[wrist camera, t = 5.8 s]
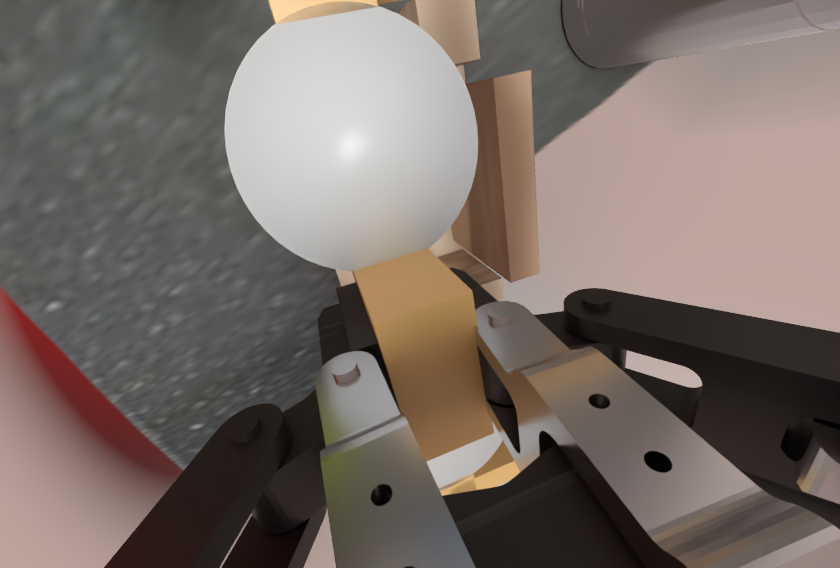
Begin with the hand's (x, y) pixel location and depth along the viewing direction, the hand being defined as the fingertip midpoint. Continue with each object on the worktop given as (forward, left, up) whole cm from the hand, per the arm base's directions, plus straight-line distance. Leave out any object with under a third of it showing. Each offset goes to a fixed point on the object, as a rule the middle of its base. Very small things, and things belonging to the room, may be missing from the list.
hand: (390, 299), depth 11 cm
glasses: (-3, 0, -2) cm, 3 cm away
